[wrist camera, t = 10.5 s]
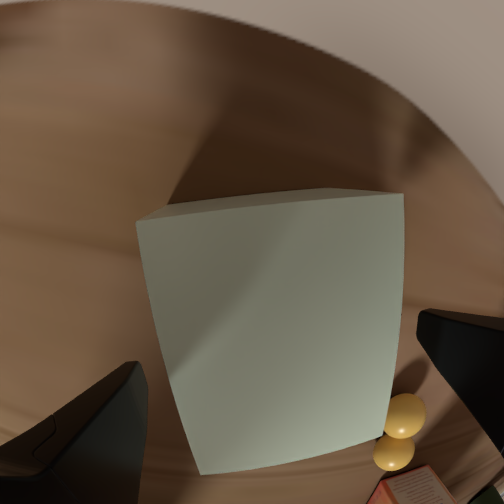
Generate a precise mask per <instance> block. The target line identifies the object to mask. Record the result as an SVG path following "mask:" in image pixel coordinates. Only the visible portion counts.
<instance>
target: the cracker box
mask: <svg viewBox="0 0 504 504" xmlns="http://www.w3.org/2000/svg"><path fill="white" fill-rule="evenodd" d="M367 504H458V503H457V502H456V501H455V499H454V498H453V497H452V495H451V494H450V492H449V491H448V490H447V488H446V487H445V486H444V484H443V483H442V482H441V480H440V479H439V478H438V476H437V475H436V474H435V472H434V471H433V470H432V468H431V467H430V466H429V465H425V466H422V467H420V468H417V469H414V470H411V471H408V472H406V473H403V474H400V475H397V476H394V477H390V478H387V479H384V480H381V481H380V483H379V485H378V486H377V488H376V490H375V491H374V493H373V495H372V496H371V498H370V500H369V501H368V503H367Z"/></svg>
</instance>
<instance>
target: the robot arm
mask: <svg viewBox="0 0 504 504" xmlns="http://www.w3.org/2000/svg"><path fill="white" fill-rule="evenodd" d="M416 336H417V339H418V341H419V342H420V344H421V345H422V347H423V348H424V350H425V351H426V353H427V355H428V356H429V358H430V359H431V361H432V362H433V364H434V365H435V367H436V368H437V370H438V371H439V372H440V374H441V375H442V376H443V377H444V379H445V380H446V381H447V382H448V384H449V385H450V386H451V387H452V389H453V390H454V391H455V393H456V394H457V395H458V396H459V398H460V399H461V400H462V402H463V403H464V404H465V406H466V407H467V408H468V409H469V411H470V412H471V413H472V415H473V416H474V417H475V419H476V420H477V421H478V423H479V424H480V426H481V427H482V428H483V430H484V431H485V432H486V434H487V435H488V436H489V438H490V439H491V441H492V442H493V443H494V445H495V446H496V448H497V449H498V451H499V452H500V453H501V455H502V457H503V458H504V318H499V317H491V316H483V315H475V314H468V313H460V312H453V311H446V310H438V309H431V308H429V309H425V310H422V311H420V313H419V315H418V322H417V331H416ZM147 408H148V385H147V382H146V379H145V375H144V372H143V369H142V366H141V364H140V362H138V361H129V362H125V363H124V364H122V365H121V366H120V367H118V368H117V369H115V370H114V371H113V372H111V373H110V374H108V375H107V376H106V377H104V378H103V379H101V380H100V381H99V382H97V383H96V384H94V385H93V386H91V387H90V388H89V389H87V390H86V391H84V392H83V393H82V394H80V395H79V396H77V397H76V398H74V399H73V400H72V401H70V402H69V403H67V404H66V405H65V406H63V407H62V408H60V409H59V410H57V411H56V412H55V413H53V415H50V416H49V417H47V418H46V419H44V420H43V421H41V422H40V423H38V424H37V425H35V426H34V427H32V428H31V429H29V430H27V431H26V432H24V433H22V434H21V435H19V436H17V437H15V438H14V439H12V440H10V441H8V442H6V443H5V444H3V445H1V446H0V504H138V495H139V486H140V478H141V470H142V462H143V455H144V448H145V441H146V433H147Z"/></svg>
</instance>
